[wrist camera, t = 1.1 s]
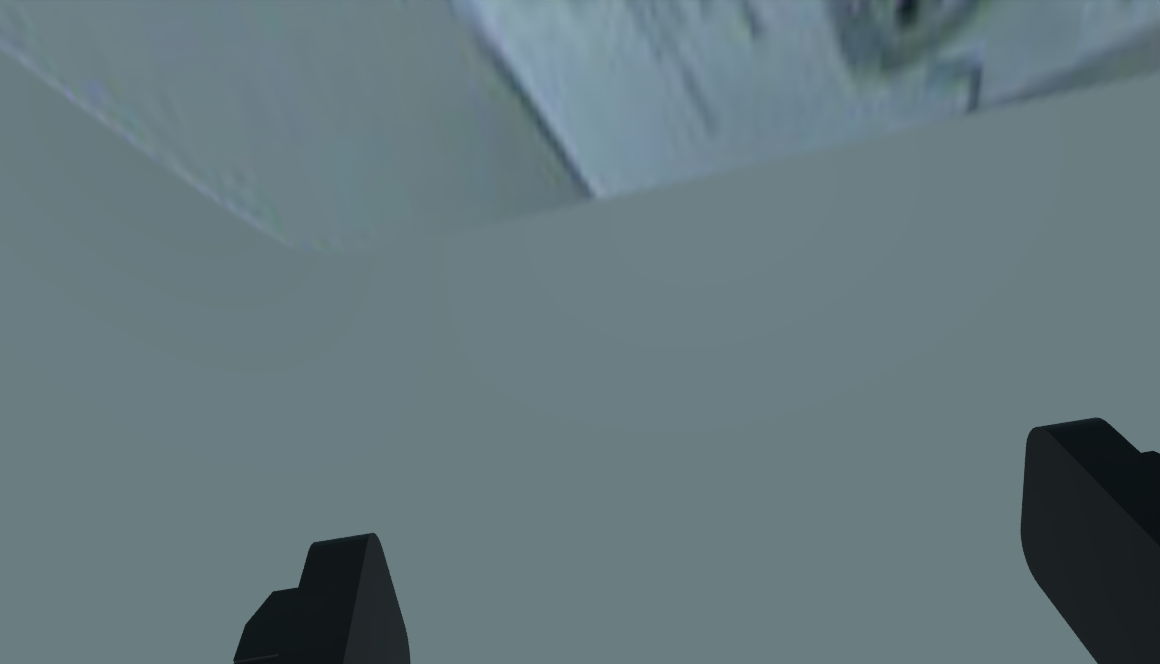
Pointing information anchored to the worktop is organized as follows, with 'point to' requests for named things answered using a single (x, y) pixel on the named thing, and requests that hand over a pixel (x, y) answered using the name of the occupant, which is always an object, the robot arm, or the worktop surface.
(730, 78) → the worktop surface
